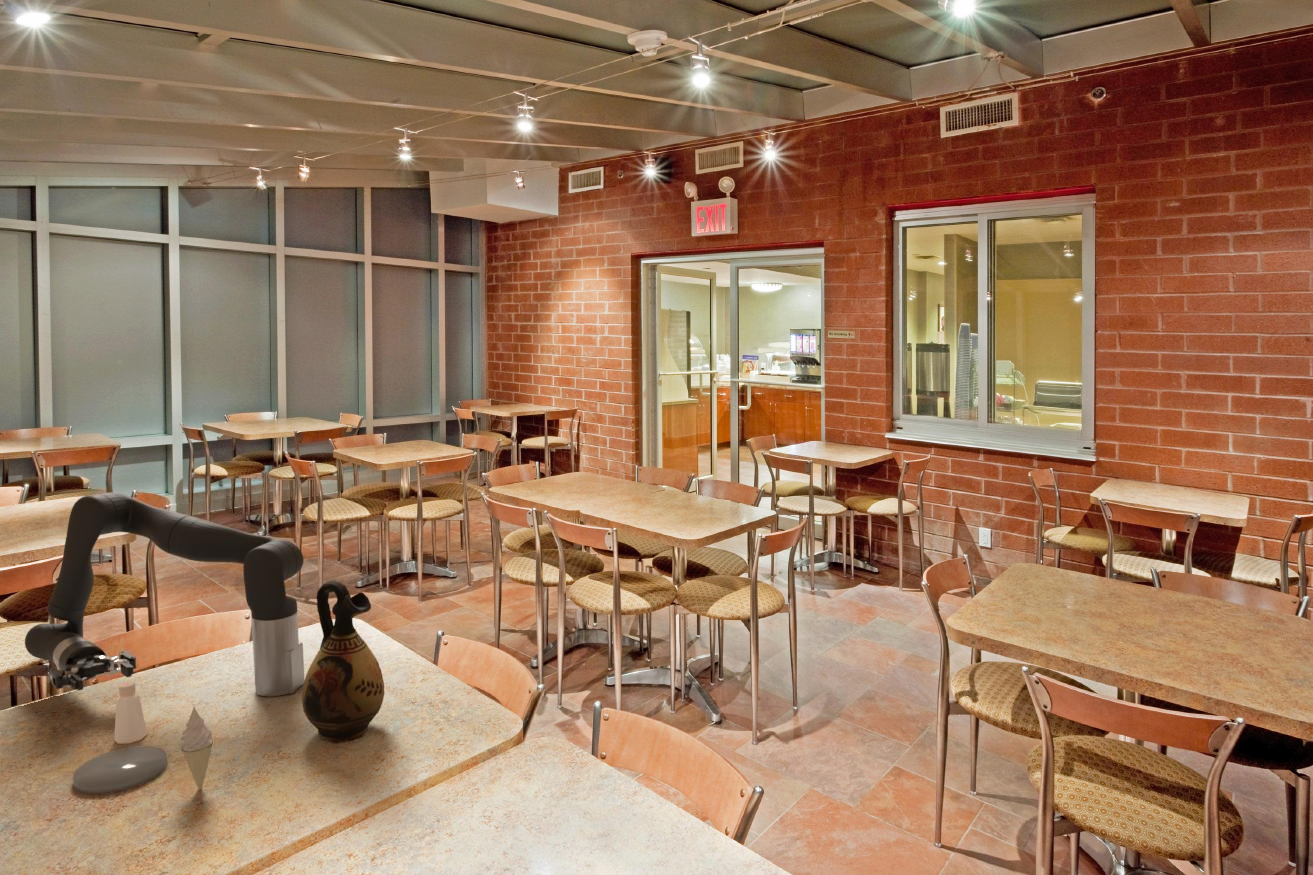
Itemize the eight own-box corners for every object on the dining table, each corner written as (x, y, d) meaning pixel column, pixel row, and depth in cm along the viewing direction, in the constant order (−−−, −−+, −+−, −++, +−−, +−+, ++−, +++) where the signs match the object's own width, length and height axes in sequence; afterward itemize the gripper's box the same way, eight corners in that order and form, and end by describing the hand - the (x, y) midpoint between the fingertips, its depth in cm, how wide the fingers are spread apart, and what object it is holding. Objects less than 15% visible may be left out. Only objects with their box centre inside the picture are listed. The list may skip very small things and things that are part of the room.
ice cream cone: (191, 781, 141) (186, 700, 140) (221, 780, 142) (216, 699, 140) (177, 797, 136) (171, 713, 135) (208, 796, 137) (203, 712, 135)
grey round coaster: (183, 753, 151) (183, 745, 151) (135, 794, 137) (134, 786, 137) (109, 752, 151) (109, 745, 151) (53, 793, 137) (53, 785, 137)
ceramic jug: (402, 721, 164) (398, 579, 161) (344, 756, 150) (338, 601, 147) (341, 705, 171) (335, 569, 168) (279, 737, 157) (272, 589, 154)
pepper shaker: (153, 733, 159) (150, 680, 158) (127, 746, 154) (123, 691, 153) (133, 728, 161) (129, 676, 159) (107, 741, 156) (103, 687, 154)
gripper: (37, 650, 167) (62, 671, 157) (115, 632, 178) (144, 650, 168) (39, 685, 168) (65, 708, 158) (117, 664, 179) (146, 685, 169)
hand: (105, 678), depth 163 cm, fingers open, 8 cm apart
